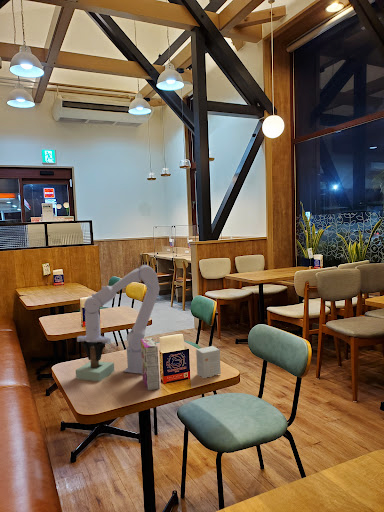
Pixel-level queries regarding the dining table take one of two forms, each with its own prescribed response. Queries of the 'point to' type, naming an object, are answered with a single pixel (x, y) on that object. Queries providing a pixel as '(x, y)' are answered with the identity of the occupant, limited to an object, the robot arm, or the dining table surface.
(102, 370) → the socket block
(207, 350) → the small box
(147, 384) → the candy bar box
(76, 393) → the dining table surface
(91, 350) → the walnut peg
